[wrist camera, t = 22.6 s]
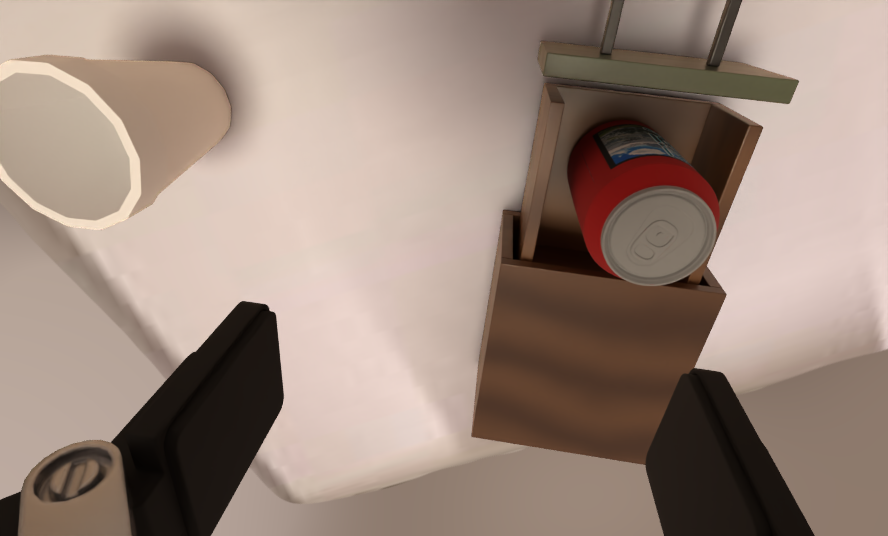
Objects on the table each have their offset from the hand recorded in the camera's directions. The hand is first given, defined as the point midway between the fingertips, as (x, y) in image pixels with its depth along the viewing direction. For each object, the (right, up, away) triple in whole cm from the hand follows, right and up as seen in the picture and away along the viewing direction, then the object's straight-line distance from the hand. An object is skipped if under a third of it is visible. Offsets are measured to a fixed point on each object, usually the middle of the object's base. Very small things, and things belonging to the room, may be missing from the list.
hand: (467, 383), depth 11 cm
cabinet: (+10, -1, +32) cm, 33 cm away
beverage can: (+11, +10, +23) cm, 28 cm away
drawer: (+12, +13, +23) cm, 29 cm away
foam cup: (-20, +15, +27) cm, 37 cm away
